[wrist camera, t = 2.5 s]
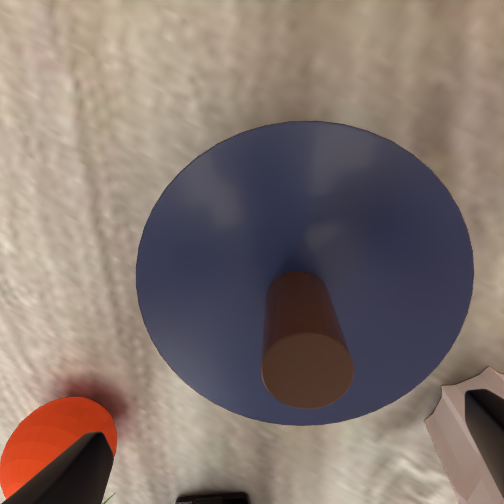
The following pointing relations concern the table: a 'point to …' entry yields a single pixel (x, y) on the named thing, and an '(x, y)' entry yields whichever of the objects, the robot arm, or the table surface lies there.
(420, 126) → the table surface
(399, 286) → the tin lid
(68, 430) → the clementine
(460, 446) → the cup
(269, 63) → the table surface
